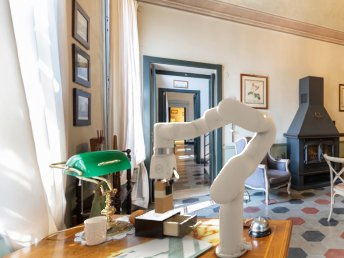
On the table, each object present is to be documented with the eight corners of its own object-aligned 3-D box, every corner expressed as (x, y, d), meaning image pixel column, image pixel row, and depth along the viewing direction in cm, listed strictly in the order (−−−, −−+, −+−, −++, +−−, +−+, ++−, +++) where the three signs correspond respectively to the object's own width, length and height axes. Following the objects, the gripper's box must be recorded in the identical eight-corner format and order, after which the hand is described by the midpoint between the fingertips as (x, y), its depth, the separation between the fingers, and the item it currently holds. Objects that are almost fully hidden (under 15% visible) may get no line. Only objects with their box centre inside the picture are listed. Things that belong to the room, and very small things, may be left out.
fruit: (153, 219, 125) (145, 208, 122) (140, 231, 120) (131, 220, 116) (145, 216, 130) (137, 205, 126) (132, 227, 124) (123, 217, 120)
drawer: (205, 228, 115) (205, 215, 115) (190, 239, 104) (190, 225, 104) (173, 225, 119) (173, 212, 119) (155, 235, 108) (155, 221, 108)
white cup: (94, 247, 99) (94, 223, 99) (79, 245, 100) (79, 222, 100) (111, 238, 106) (111, 216, 106) (97, 236, 108) (97, 215, 108)
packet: (173, 209, 103) (173, 179, 103) (162, 213, 97) (162, 182, 97) (165, 208, 103) (165, 179, 103) (154, 213, 98) (154, 182, 97)
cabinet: (180, 227, 119) (180, 210, 119) (161, 238, 106) (161, 220, 106) (155, 224, 122) (155, 208, 122) (134, 235, 109) (134, 218, 109)
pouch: (104, 224, 123) (104, 176, 122) (120, 227, 118) (120, 178, 118) (79, 232, 112) (79, 181, 112) (95, 237, 108) (95, 183, 108)
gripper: (140, 152, 98) (140, 195, 98) (175, 153, 94) (174, 198, 95) (154, 150, 105) (154, 190, 105) (186, 151, 102) (186, 193, 102)
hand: (164, 193), depth 100 cm, fingers closed on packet, 4 cm apart
